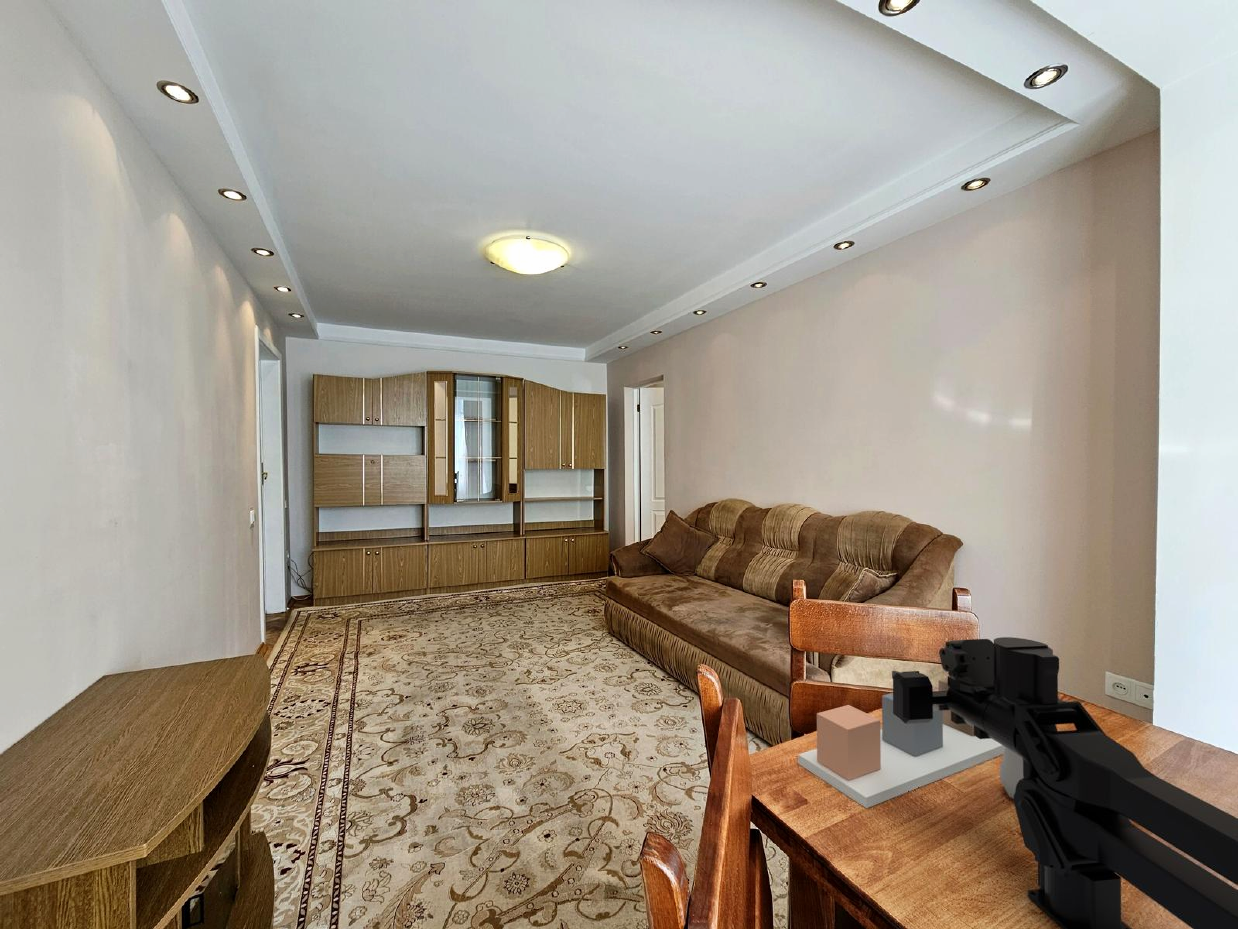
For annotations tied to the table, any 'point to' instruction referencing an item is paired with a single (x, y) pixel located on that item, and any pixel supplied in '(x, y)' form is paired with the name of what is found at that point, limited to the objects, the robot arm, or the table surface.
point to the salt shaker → (1011, 771)
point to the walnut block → (947, 713)
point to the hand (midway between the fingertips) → (921, 672)
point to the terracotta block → (848, 741)
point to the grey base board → (907, 767)
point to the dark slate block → (911, 730)
